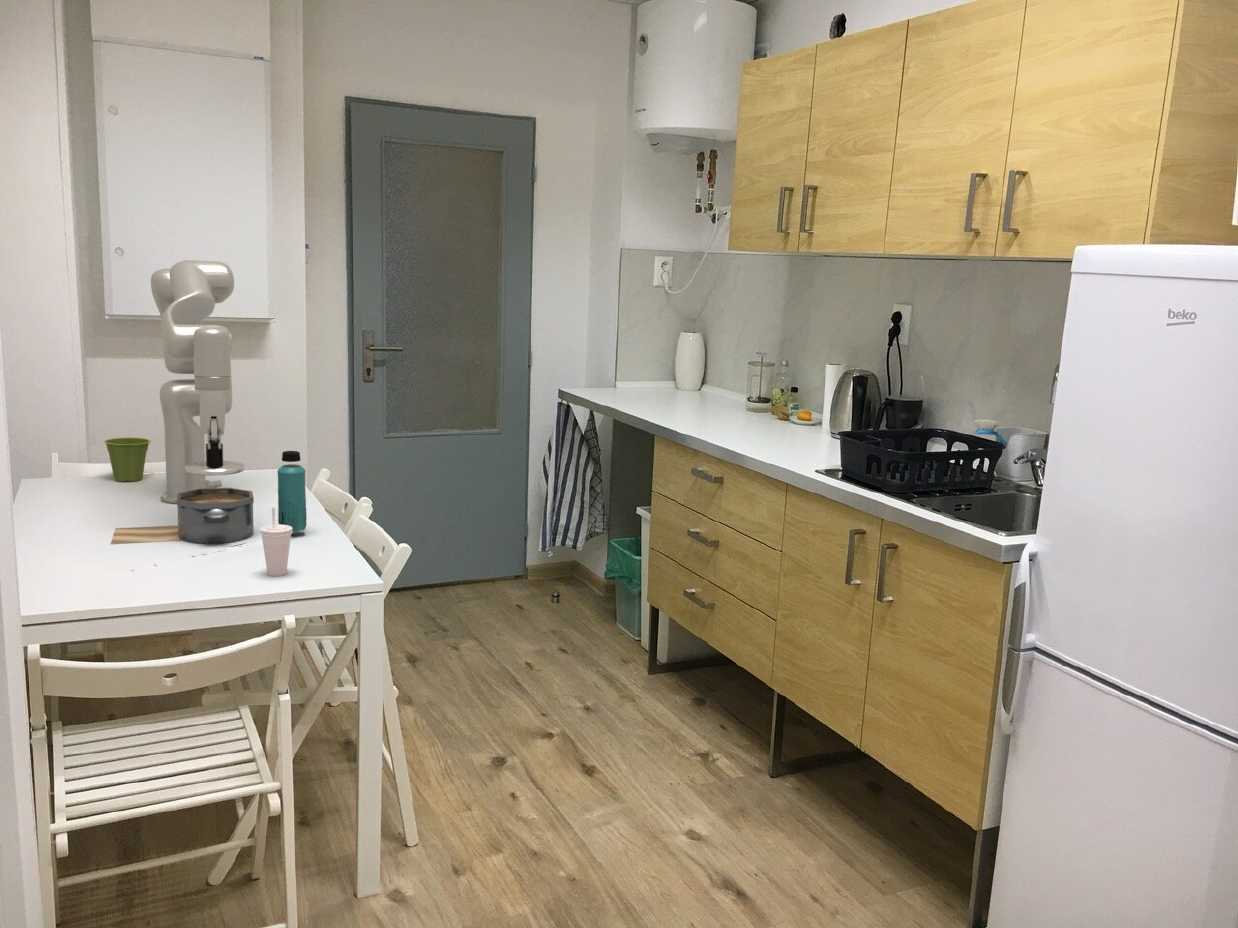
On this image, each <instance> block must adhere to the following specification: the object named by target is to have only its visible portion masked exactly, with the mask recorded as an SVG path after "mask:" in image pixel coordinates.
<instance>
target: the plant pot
mask: <svg viewBox="0 0 1238 928" xmlns="http://www.w3.org/2000/svg"><path fill="white" fill-rule="evenodd" d="M103 443H104V444H105V445H106V449H107V452H108V455H109V460H110V466H111V471H112V474H113V479H114V481H116V482H120V483H121V482H122V483H123V482H127V481H128V482H133V483H134V482H137V481H141V480H143V478H144V472H145V464H146V457H147V451H148V449H149V445H150V443H151V439H148V438H145V437H144V438H143V437H113V438H108V439H105V440H104V441H103Z"/></svg>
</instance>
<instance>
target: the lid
mask: <svg viewBox="0 0 1238 928" xmlns="http://www.w3.org/2000/svg"><path fill="white" fill-rule="evenodd" d="M210 446H211V444H210ZM207 449H208V442H207V443H205V461H204V462H196V463H191V464H188V465H186V466H185V472H186V473H189V474H194V475H205V477H206V476H214V477H215V476H229V475H235V474H239V473H242V472H244V471H245V464H244V463H242V462H239V461H229V460H224V443H222V442H221V449H222V462H223V465H222V466H221V467H208V466H207ZM210 449H211V448H210ZM218 449H219V447H218Z"/></svg>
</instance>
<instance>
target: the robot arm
mask: <svg viewBox="0 0 1238 928" xmlns="http://www.w3.org/2000/svg"><path fill="white" fill-rule="evenodd" d="M150 288H151V293H152V298H153V301H154V303H155V305H156V307H157V310H158V312H159V314H160V315H159V316H160V318H161V321H160V322H161V324H160V328H161V329H160V330H161V335H162V340H163V341H162V343H163V345H162V346H163V358H164V359H163V360H164V365H165V368H166V369H167V371H168V372H169V373H172V374H178V375H193V376H194V377H193V379H191V378H189V379H188V378H187V379H172V380H168V381H166V382H164V383H163V384H162V385H161V387H160V388H159V401H160V406H161V410H162V417H163V427H164V443H165V444H164V446H165V447H164V448H165V449H164V450H165V474H166V475H165V477H166V491H165V492H162V493H161V494H160V495H159V496H160V500H161V501H162V502H165V503H169V504H177V494H178V493H183V492H187V491H191V490H196V489H203V488H222V486H223V483H222V481H221V480H220V479H218V480H213V481H212V480H209V479H206V475H194V474H189V473H186V472H185V466H186V465H188V464H191V463H196V462H204V461H206V443H205V435H207V443H208V449H207V466H208V467H221V466H222V465H223V462H222V449H221V443H222V436H223V435H224V434H225V427H226V426H225V425H226V415H227V414H228V413H230V412H231V410H232V408H233V386H232V385H233V384H232V383H233V382H232V363H231V362H232V361H231V351H232V349H233V335H232V333H231V332H230V331H229V330H228V328H227V327H226V326H223V325H219V324H199V322H200V321H203V320H205V319H207V318H208V317H210V316H211V315H212V314H213V312H214V309H215V307H216V304H221V303H223V302H225V301H226V300H227V299H228V298H230V297H231V296H232V294H233V292H234V289H235V277H234V273H233V271H232V269H231V267H230V266H229V265H228V264H227V263H225V262H222V261H214V260H194V259H193V260H191V259H190V260H189V259H188V260H187V259H186V260H180V261H178V262H175V263H174V264H173V265H172V266H171V267H170V268H160V269H157V270H155V271H154V272H152V274H151V277H150ZM194 417H199V423H198V422H197V421H195V420H194ZM210 444H211V446H210ZM218 447H219V449H218ZM210 448H211V449H210Z"/></svg>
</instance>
